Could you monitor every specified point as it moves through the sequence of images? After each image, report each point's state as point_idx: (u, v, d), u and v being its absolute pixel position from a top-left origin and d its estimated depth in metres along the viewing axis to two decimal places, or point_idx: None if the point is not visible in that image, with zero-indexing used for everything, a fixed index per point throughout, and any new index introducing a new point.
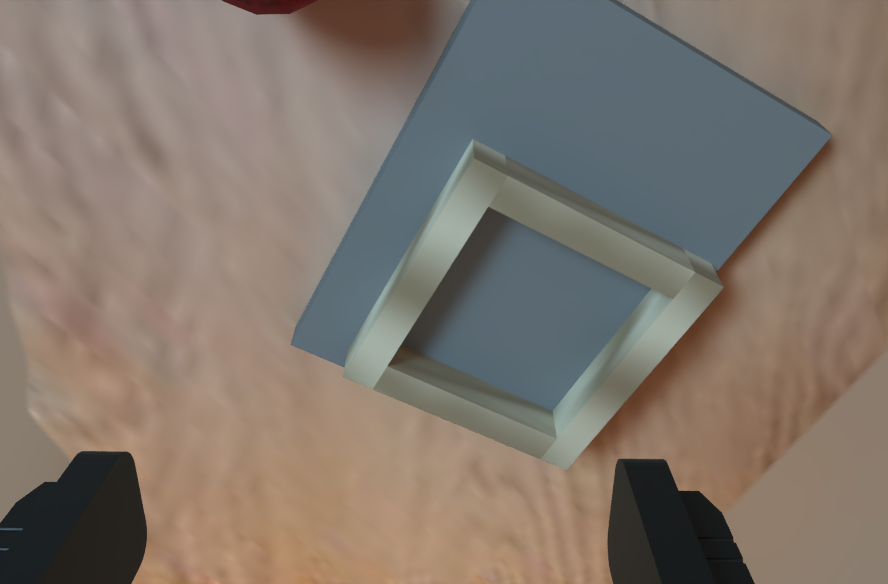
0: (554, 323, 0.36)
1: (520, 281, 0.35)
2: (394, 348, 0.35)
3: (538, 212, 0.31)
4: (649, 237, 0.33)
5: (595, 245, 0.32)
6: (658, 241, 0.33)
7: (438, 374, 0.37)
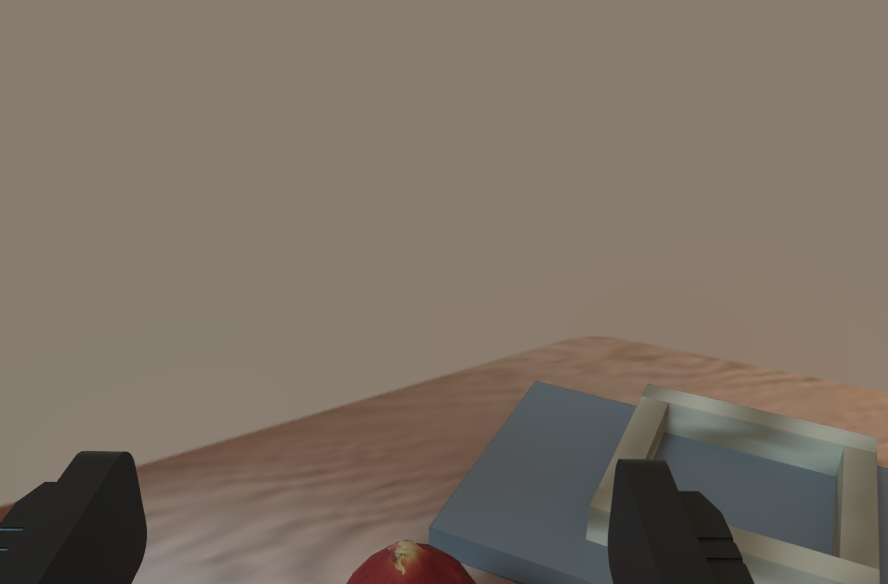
0: (739, 482, 0.41)
1: None
2: (813, 552, 0.34)
3: None
4: None
5: (640, 440, 0.41)
6: None
7: (836, 538, 0.36)
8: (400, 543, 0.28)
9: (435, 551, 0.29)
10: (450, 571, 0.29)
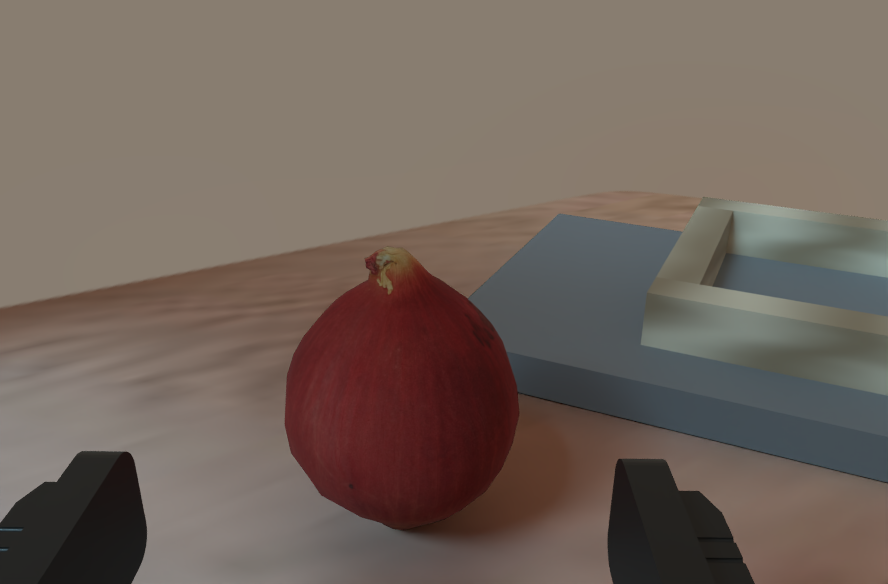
0: (834, 293, 0.32)
1: None
2: None
3: (687, 262, 0.29)
4: None
5: (703, 239, 0.32)
6: None
7: None
8: None
9: (438, 279, 0.19)
10: (461, 301, 0.19)
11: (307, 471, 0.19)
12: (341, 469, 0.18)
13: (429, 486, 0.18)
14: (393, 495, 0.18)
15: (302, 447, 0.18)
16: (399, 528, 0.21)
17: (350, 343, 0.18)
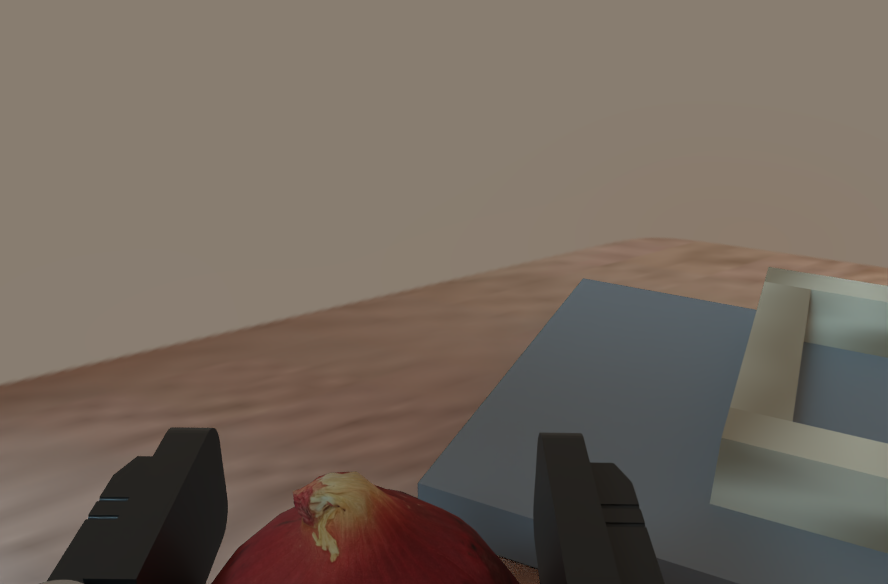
0: None
1: None
2: None
3: (767, 380, 0.22)
4: None
5: (782, 338, 0.24)
6: None
7: None
8: (326, 477, 0.11)
9: (421, 504, 0.12)
10: (460, 552, 0.11)
11: None
12: None
13: None
14: None
15: None
16: None
17: None
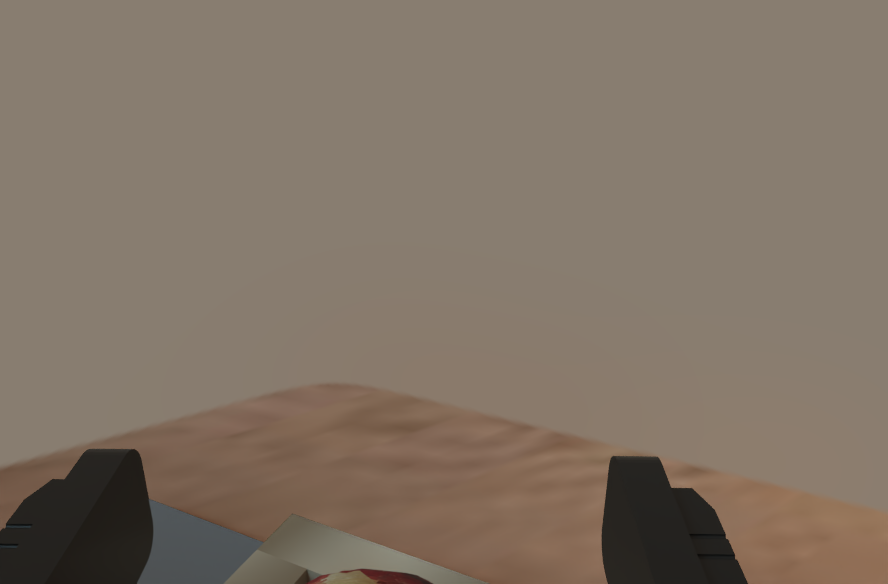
0: None
1: None
2: None
3: None
4: None
5: None
6: None
7: None
8: (330, 579, 0.11)
9: None
10: None
11: None
12: None
13: None
14: None
15: None
16: None
17: None
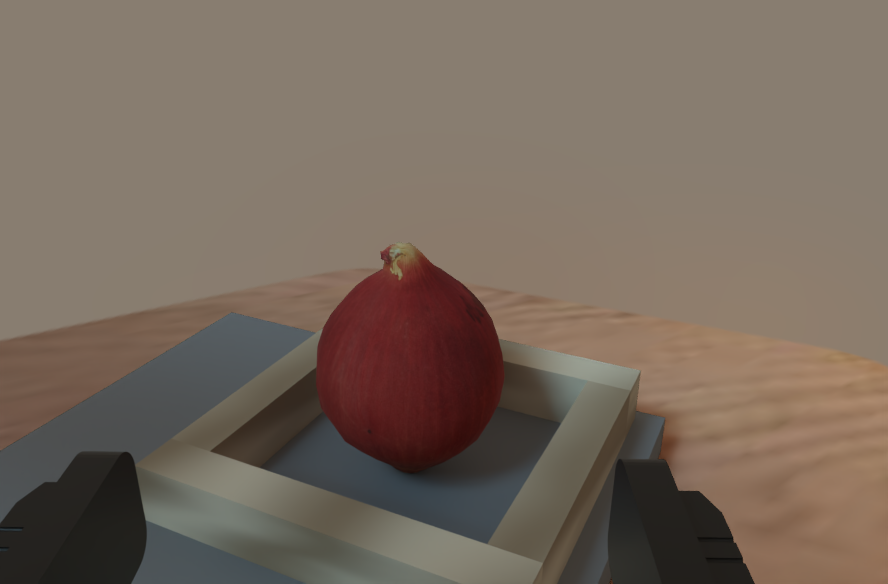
0: None
1: (370, 467, 0.26)
2: (447, 535, 0.20)
3: (231, 414, 0.25)
4: None
5: (287, 375, 0.28)
6: None
7: None
8: (396, 243, 0.23)
9: (439, 268, 0.24)
10: (458, 286, 0.24)
11: (334, 421, 0.23)
12: (362, 417, 0.22)
13: (430, 431, 0.22)
14: (402, 438, 0.22)
15: (330, 401, 0.23)
16: (407, 471, 0.25)
17: (369, 319, 0.22)
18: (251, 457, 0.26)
